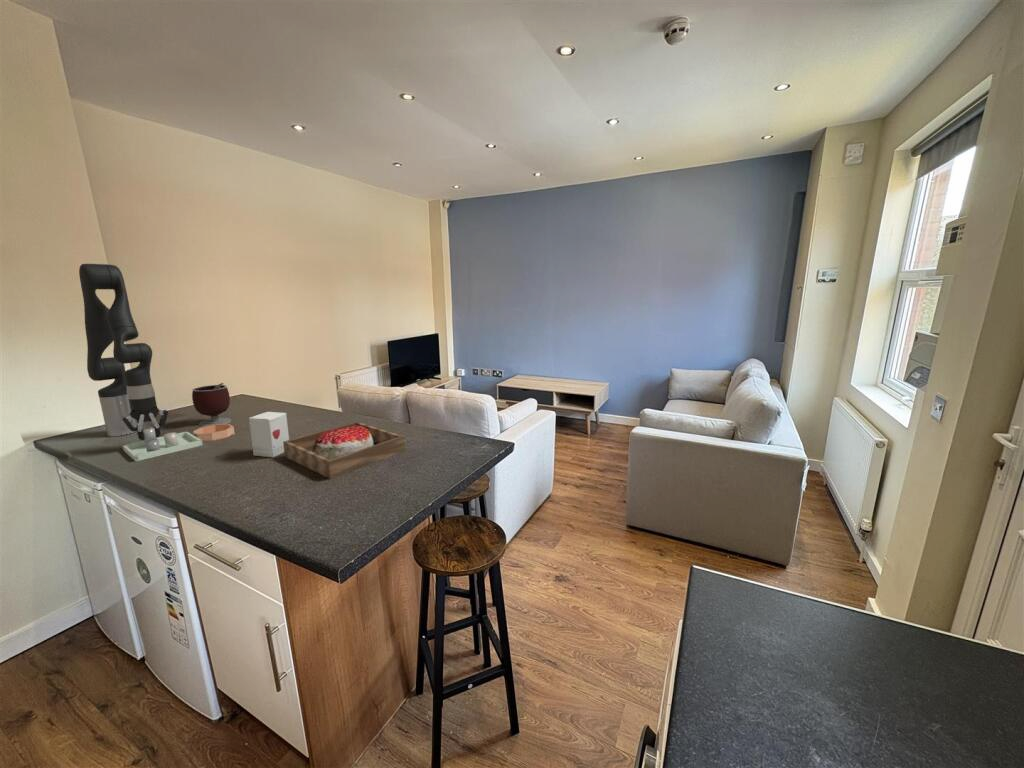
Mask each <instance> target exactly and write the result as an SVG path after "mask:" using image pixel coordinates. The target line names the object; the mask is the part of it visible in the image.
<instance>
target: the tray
mask: <svg viewBox="0 0 1024 768" xmlns="http://www.w3.org/2000/svg"><path fill="white" fill-rule="evenodd" d="M176 434H177V440H178V445H177V446H173V447H169V448H166V445H165V440H164V435H163V436H159V437H157V440H159V444H160V450H156V451H151V452H147V450H146V445H145V442H144V440H143V441H142V440H140V441H135V442H131V443H127V444H126V443H125V444H123V445H121V446H122V451H123V452H125V453H126V455H128V456H129V457H130V458H131V459H132V460H133V461H134V462H138V461H144V460H148V459H151V458H155V457H156V458H157V457H160V456H163V455H168V454H172V453H176V452H180V451H184V450H189V449H193V448H197V447H201V446H204V444H203V441H202V440H201V439H199V438H197V437H196V436H194V435H193V433H190V432H188V431H183V432H178V433H177V432H176Z"/></svg>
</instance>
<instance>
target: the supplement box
mask: <svg viewBox="0 0 1024 768" xmlns="http://www.w3.org/2000/svg"><path fill="white" fill-rule="evenodd" d="M248 421H249V422H248V423H249V429H250V431H249V432H250V437H251V444H252V453H253V456H255V457H256V456H257V457H264V458H265V457H267V458H275V457H277V456H279V455H281V454H283V453H285V452H284V445H283V442H284V441H287V440H290V435H289V426H288V418H287V412H278V411H277V412H276V411H275V412H274V411H266V412H262V413H260V414H257V415H253V416H251V417H249V418H248Z"/></svg>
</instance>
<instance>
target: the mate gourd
mask: <svg viewBox="0 0 1024 768" xmlns="http://www.w3.org/2000/svg"><path fill="white" fill-rule="evenodd" d="M191 395H192V396H191V398H192V404H193V406H194V409H195V411H196V412H197V413H199V415H201V416H202V415H203V416H208V417H210V419H207V420H206V419H205V420H202V421H201V422H199V423H198V425H199V427H200V428H201V427H205V426H210V425H215V424H230V423H231V422H232V419H231V418H229V417H219V415H221V414H223V413H225V412H226V411H227V410H228V409H229V407H230V402H231V397H230V392H229V389H228V387H227V385H225V384H224V382H221V383H218V384H212V385H203V386H198V387H197V386H196V387H195V388H193V389H192V393H191Z"/></svg>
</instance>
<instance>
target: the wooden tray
mask: <svg viewBox="0 0 1024 768" xmlns="http://www.w3.org/2000/svg"><path fill="white" fill-rule="evenodd" d="M350 426H362V427H365V428H366V429H367V430H369V431H370V433H371V436H372V439H373V443H376V444H373V446H370V447H367V448H364V449H361V450H358V451H355V452H352V453H350V454H347V455H344V456H341V457H338V458H335V459H332V460H329V459H327V458H325V457H322V456H320V455H318V454H316V453H313V452H312V448H313V445H314V443H315V441H316V439H317V438H318V436H319V435H320V434H321V433H323V432H326V431H329V430H332V429H338V428H346V427H350ZM283 445H284V452H283V453H284V457H285V458H286V459H289V460H290V461H293V462H295V463H297V464H299V465H301V466H303V467H305V468H307V469H309V470H311V471H313V472H315V473H318V474H319V475H322V476H323V477H325V478H328V479H329V480H332V479H335V478H337V477H339V476H342V475H345V474H349V473H350V472H353V471H355V470H359V469H361V468H363V467H366V466H369V465H372V464H375V463H377V462H381V461H382V460H385V459H388V458H391V457H393V456H395V455H398V454H401V453H403V452H406V444H405V436H404V435H401V434H398V433H394V432H392V431H388V430H384V429H381V428H379V427H375V426H372V425H368V424H366V423H362V422H360V421H359V422H358V421H354V422H351V423H347V424H343V425H340V426H339V425H338V426H335V427H333V428H329V429H326V430H322V431H317V432H313V433H310V434H306V435H303V436H300V437H299V436H298V437H295V438H291V439H289V440H287V441H284V442H283Z"/></svg>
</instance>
